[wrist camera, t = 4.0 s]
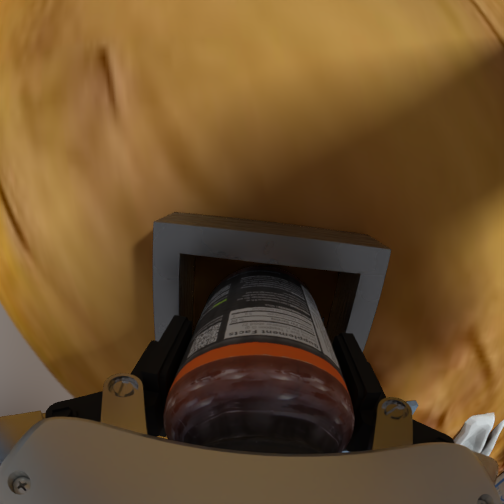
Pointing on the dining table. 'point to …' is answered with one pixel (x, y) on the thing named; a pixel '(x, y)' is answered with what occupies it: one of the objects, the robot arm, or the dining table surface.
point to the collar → (271, 252)
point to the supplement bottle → (260, 372)
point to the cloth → (479, 433)
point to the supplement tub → (500, 486)
